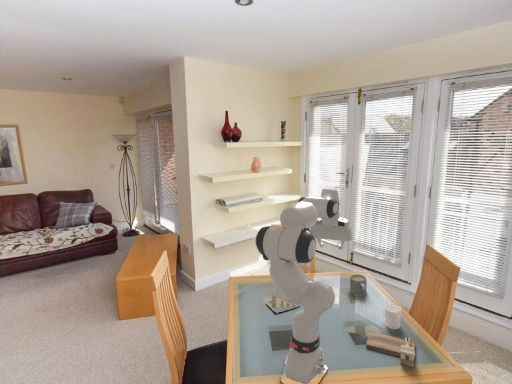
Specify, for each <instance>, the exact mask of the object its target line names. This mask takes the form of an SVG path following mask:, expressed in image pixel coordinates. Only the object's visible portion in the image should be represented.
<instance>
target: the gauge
mask: <svg viewBox="0 0 512 384" xmlns="http://www.w3.org/2000/svg"><path fill="white" fill-rule="evenodd" d="M405 339H406V344H405V346H404V345H401V356H400V365H404V366H408V367H411V368H415V360H414V348H413V347H409V345H410V339H411V338H410V337H405Z"/></svg>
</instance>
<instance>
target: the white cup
mask: <svg viewBox="0 0 512 384" xmlns="http://www.w3.org/2000/svg"><path fill="white" fill-rule="evenodd" d="M383 309H384V320H385V326H386V327H387V328H388V329H390V330H399V329H400V328H401V327H400V326H401V319H402V308H401V307H400V306H398V305H396V304H385V305H384V308H383Z"/></svg>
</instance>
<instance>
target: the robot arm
mask: <svg viewBox="0 0 512 384" xmlns="http://www.w3.org/2000/svg"><path fill="white" fill-rule="evenodd" d="M339 195H340V194H339V191H338V189H337V188H322V190H321V196H320V197H317V196H314V197H312V196H304V195H303V196H301V197H300V198H299V199H298V201H296V202H293V203H292V204H289V205H288V206H286V207H285V208H284V209H283V210H282V211H281V213H280V216H279V221H280V225H281V227H279V226H278V227H277V226H276V227H274V226H272V225H270V226H269V225H266V226H263V227H261V228H260V229H259V230H258V232H257V233H256V236H255V246H256V248H257V250H258V253H260V254H261V256H262V259H263V260H265V261H270V266H269V276H270V278H271V280H272V282H273V283H274V285H275V286H274V291H275V292H274V293H275V296H276V298H277V300H279V299H280V300H282V301H284V302H286V303H289V304H294V305H298V306H300V307H303V309H300V310H298V311H297V312H295V313H294V314H293V316H292V320H291V324H292V327H291V328H292V332H291V339H290V340H291V341H290V343H289V350H288V353H287V354H286V357H285V361H284V364H285V365H286V377H287V378H289V379H291V380H293V381H296V382H300V383H303V384H308V383H310V381H311V380H312V379H313V378H314V377H315V376H316V375H317V374H324V373H325V372H326V371H327V370H328V371H329V367H328V365H326V363H325V355H324V350H323V348H322V347H321V345H320V344H321V338H320V333H319V325H320V323H319V321H320V318H321V316H322V315H323V314H324V313H325V312H326V311H329V310H330V309H331V308H332V307H333V306H334V304H335V301H336V295H335V294H336V293H335V291H334V288H333V287H332V286H331V285H329V284H327V283H323V282H321V281H315V280H311V279H309V278H308V276H307V275H306V273H305V272H304V270H303V269H302V268H301V267H300V266H299V265H298V264H307V263H308V264H309V263H310V262H311V261H312V260H313V259H314V258H315V254H316V251H317V242H318V244H319V248H324V242H322V240H332V241H340V243H341V244H339V245H338V249H339V250H343V247H344V246H343V245H344V243H345V242H351V241H352V239H353V232H352V227H351V225H350V220H349V219H347V218H344V217H342V216H341V214H340V211H339V210H340V196H339ZM320 219H321V220H320ZM316 239H317V241H316ZM297 263H298V264H297ZM323 369H324V370H323Z"/></svg>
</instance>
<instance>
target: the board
mask: <svg viewBox="0 0 512 384" xmlns="http://www.w3.org/2000/svg"><path fill="white" fill-rule="evenodd" d="M405 344H406V338H400V337H397V336H394V335H393V336H392V335H388V334H383V333H380V332H374V331H370V330H369V331H368V333H367V338H366V344H365V348H366V349H370V350H374V351H379V352H381V353H386V354H390V355H393V356H397V357H401V345H404V346H405ZM409 347H413V348H414V361H416V341H414V340H410V345H409Z"/></svg>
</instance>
